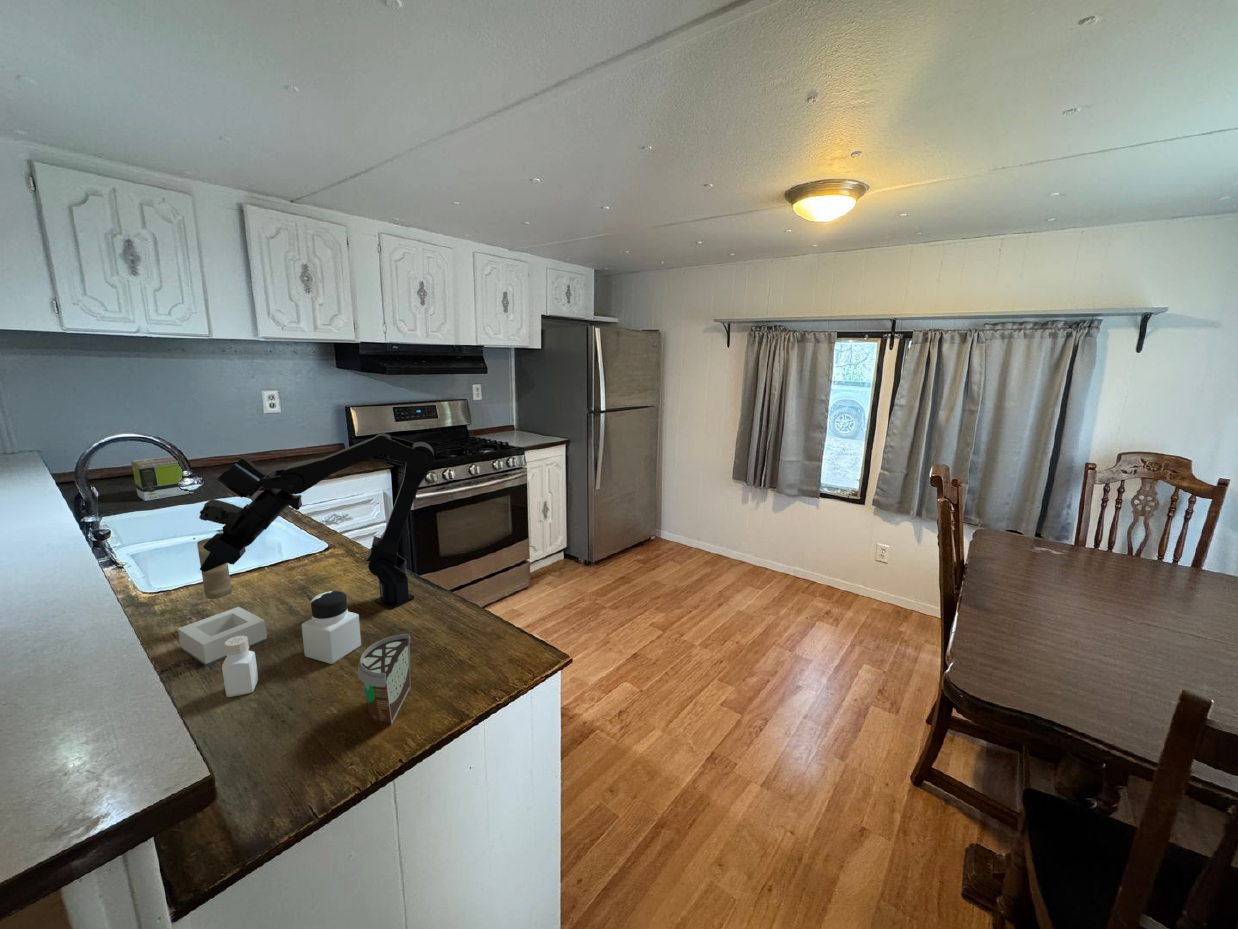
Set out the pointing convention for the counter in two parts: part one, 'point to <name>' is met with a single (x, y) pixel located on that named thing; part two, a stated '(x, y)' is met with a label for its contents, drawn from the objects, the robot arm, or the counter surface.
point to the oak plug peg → (214, 576)
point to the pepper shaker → (239, 667)
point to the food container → (386, 676)
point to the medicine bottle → (330, 628)
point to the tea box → (157, 478)
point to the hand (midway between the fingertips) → (206, 566)
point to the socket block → (220, 634)
